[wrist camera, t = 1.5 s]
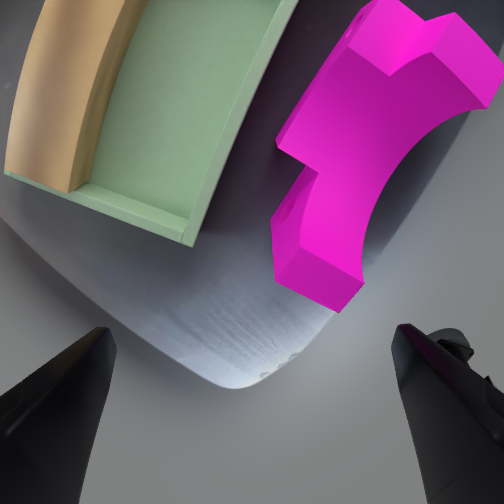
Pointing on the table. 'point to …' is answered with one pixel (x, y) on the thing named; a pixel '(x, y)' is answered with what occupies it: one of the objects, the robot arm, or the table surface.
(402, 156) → the toy block
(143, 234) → the table surface
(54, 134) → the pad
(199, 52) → the frame
